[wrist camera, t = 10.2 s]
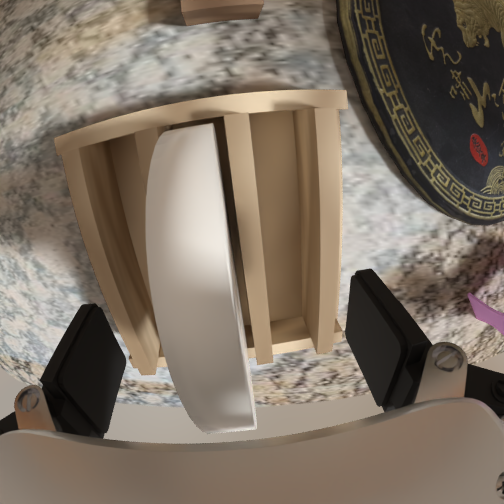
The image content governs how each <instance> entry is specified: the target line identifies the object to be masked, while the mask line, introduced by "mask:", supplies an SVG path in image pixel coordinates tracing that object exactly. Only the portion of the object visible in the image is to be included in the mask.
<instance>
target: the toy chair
mask: <svg viewBox="0 0 504 504" xmlns="http://www.w3.org/2000/svg"><path fill="white" fill-rule="evenodd" d="M467 295H468V298H469V300H470V303H471V305H472V308H473V311H474V313H475V316H476V319H478V320H481V321H483V322H486V323H488V324H490V325H492V326H493V327H495V328H496V329H497V330H498V331H500V332H501V333H502V334H503V335H504V313H501V312H499V311H496V310H494V309H493V308H491V307H489V306H488V305H486V304H485V303H483V302H482V301H480V300H479V299H478V298H476V297H475V296H474V295H472V294H471V293H470V292H469V293H468V294H467Z"/></svg>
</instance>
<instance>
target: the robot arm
mask: <svg viewBox="0 0 504 504" xmlns="http://www.w3.org/2000/svg"><path fill="white" fill-rule="evenodd" d="M345 335H346V339H347V341H348V343H349V346H350V348H351V350H352V352H353V354H354V356H355V358H356V360H357V362H358V365H359V367H360V369H361V371H362V373H363V375H364V378H365V380H366V382H367V384H368V386H369V389H370V391H371V393H372V395H373V397H374V400H375V402H376V404H377V405H378V406H379V407H380V406H382V407H383V410H384V413H381V414H378V415H375V416H371V417H368V418H364V419H360V420H357V421H353V422H349V423H344V424H340V425H336V426H332V427H328V428H323V429H319V430H314V431H309V432H303V433H298V434H292V435H286V436H279V437H273V438H265V439H257V440H247V441H238V442H237V441H236V442H222V443H202V444H201V443H200V444H166V443H142V442H129V441H118V440H109V439H103V437H104V433H107V431H108V429H109V425H110V420H111V416H112V412H113V408H114V405H115V401H116V398H117V394H118V390H119V387H120V383H121V380H122V376H123V373H124V370H125V366H126V358H125V355H124V353H123V351H122V350H121V348H120V346H119V344H118V342H117V340H116V338H115V336H114V334H113V332H112V330H111V327H110V325H109V323H108V321H107V319H106V317H105V315H104V312H103V310H102V308H101V307H98V306H97V305H96V304H83V305H81V307H80V308H79V310H78V312H77V313H76V315H75V317H74V318H73V320H72V322H71V323H70V325H69V327H68V328H67V330H66V332H65V334H64V335H63V337H62V339H61V341H60V343H59V344H58V346H57V348H56V350H55V352H54V354H53V355H52V357H51V359H50V361H49V363H48V365H47V367H46V369H45V371H44V373H43V375H42V377H41V379H40V381H41V383H42V384H43V387H42V388H40V387H39V386H37V385H29V386H27V387H25V388H23V389H22V390H21V391H20V392H19V393H18V395H17V396H16V398H15V402H14V408H15V412H13V413H11V414H10V415H8V416H6V417H5V418H3V419H2V420H0V504H504V374H502V373H499V372H495V371H491V370H488V369H484V368H481V367H477V366H474V365H471V364H468V361H467V356H466V354H465V352H464V351H463V350H462V349H461V348H460V347H459V346H457V345H456V344H453V343H450V342H439V343H436V344H434V345H432V343H431V342H430V341H429V339H428V338H427V337H426V335H425V334H424V333H423V331H422V330H421V329H420V327H419V326H418V325H417V323H416V322H415V321H414V319H413V318H412V317H411V315H410V314H409V313H408V312H407V310H406V309H405V308H404V306H403V305H402V304H401V303H400V302H399V301H398V300H397V299H396V298H395V296H394V295H393V294H392V293H391V291H390V290H389V289H388V288H387V286H386V285H385V284H384V283H383V282H382V280H381V279H380V278H379V277H378V275H377V274H376V273H375V272H374V271H373V270H372V269H365V270H359V271H356V273H355V275H353V276H352V277H351V282H350V293H349V303H348V313H347V321H346V329H345Z"/></svg>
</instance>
